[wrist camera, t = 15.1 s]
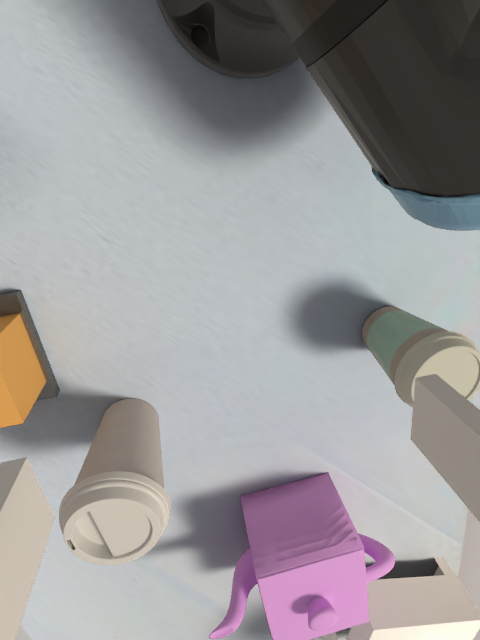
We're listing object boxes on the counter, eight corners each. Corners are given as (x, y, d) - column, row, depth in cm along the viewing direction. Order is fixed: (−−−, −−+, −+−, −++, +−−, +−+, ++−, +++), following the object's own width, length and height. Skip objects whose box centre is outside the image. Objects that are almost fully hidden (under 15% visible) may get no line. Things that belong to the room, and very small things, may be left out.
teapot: (190, 508, 53) (195, 620, 41) (360, 463, 55) (416, 555, 42) (212, 575, 60) (223, 689, 47) (364, 532, 61) (414, 631, 49)
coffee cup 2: (336, 337, 46) (387, 394, 35) (385, 281, 44) (455, 323, 33) (382, 370, 49) (442, 432, 38) (430, 319, 47) (507, 369, 36)
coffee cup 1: (90, 384, 43) (52, 489, 30) (176, 390, 45) (177, 491, 32) (87, 450, 47) (51, 573, 33) (166, 453, 49) (163, 569, 35)
